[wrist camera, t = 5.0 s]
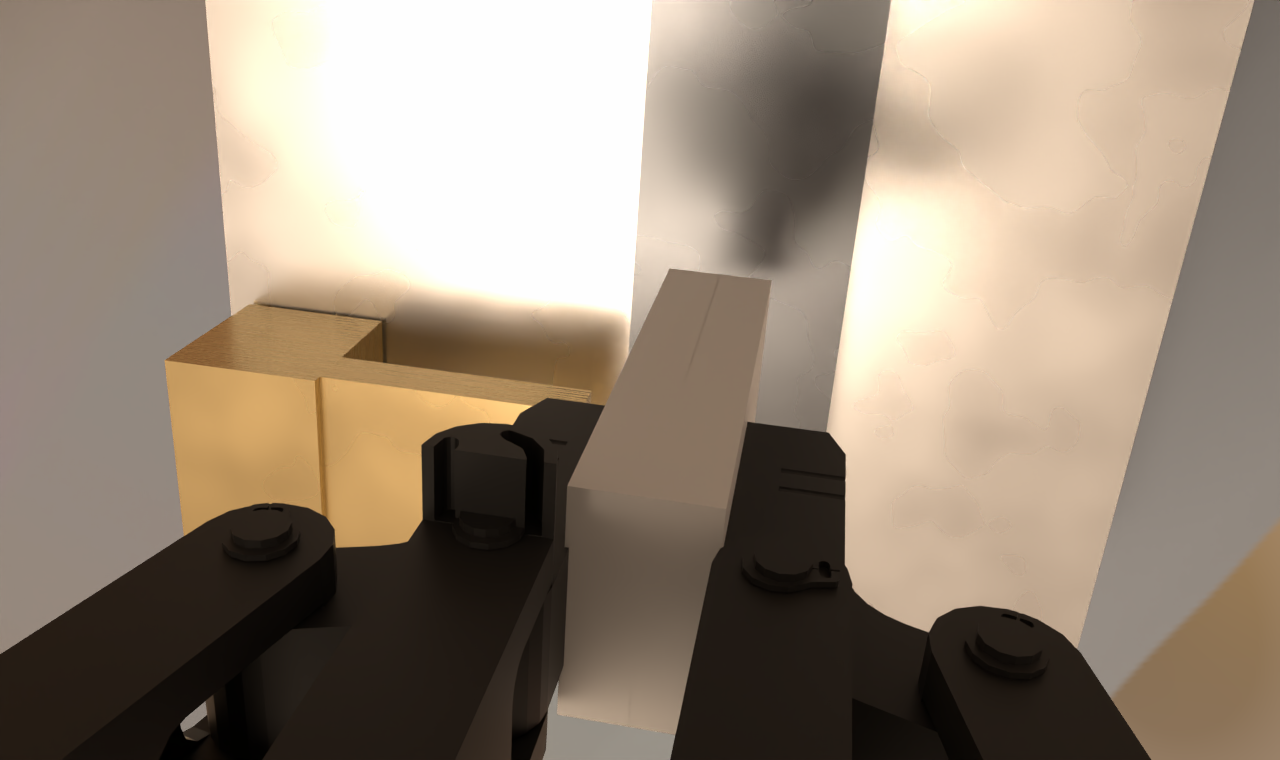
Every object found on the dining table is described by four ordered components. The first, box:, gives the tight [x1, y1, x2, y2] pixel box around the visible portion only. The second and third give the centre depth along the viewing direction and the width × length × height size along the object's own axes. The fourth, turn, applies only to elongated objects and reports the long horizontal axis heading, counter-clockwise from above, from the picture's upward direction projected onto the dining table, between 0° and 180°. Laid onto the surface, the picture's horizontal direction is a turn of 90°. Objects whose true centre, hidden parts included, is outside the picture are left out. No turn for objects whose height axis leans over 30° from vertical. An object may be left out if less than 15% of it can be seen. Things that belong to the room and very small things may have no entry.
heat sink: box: [205, 0, 1254, 649], centre depth 23 cm, size 22×19×9 cm
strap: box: [628, 0, 891, 432], centre depth 20 cm, size 21×4×2 cm, turn 176°
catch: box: [165, 304, 592, 548], centre depth 23 cm, size 4×8×3 cm, turn 86°
